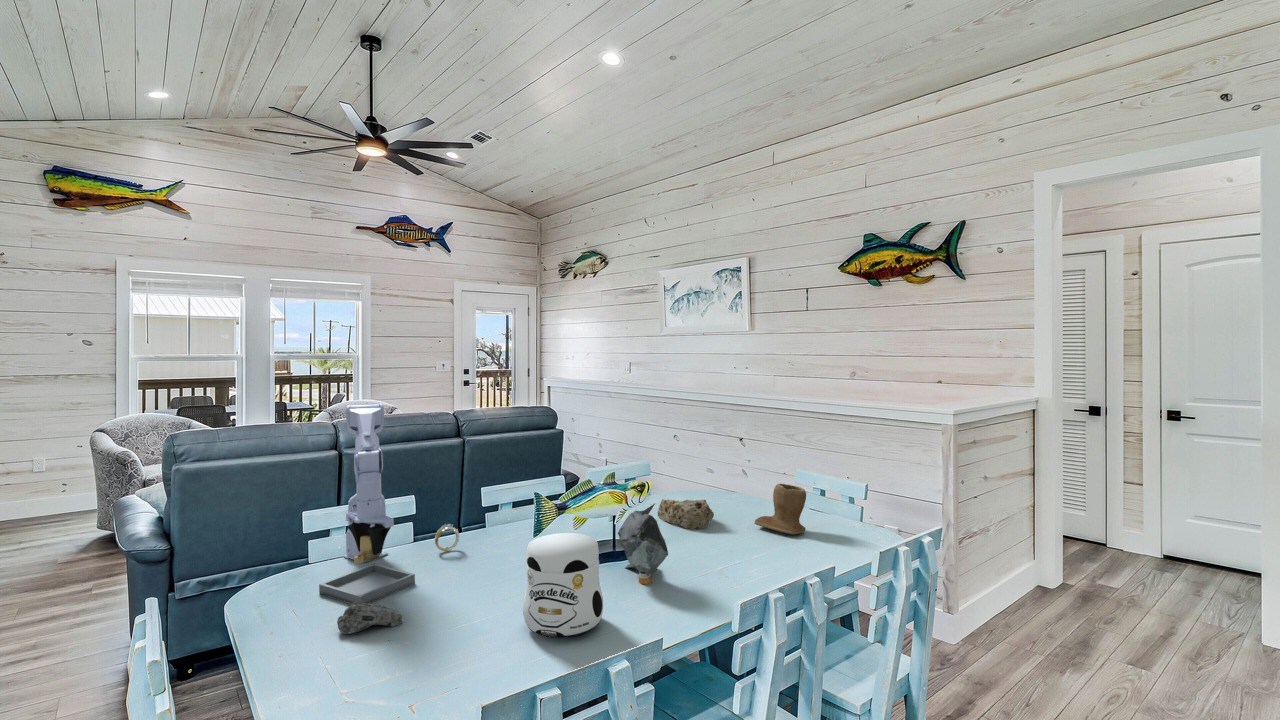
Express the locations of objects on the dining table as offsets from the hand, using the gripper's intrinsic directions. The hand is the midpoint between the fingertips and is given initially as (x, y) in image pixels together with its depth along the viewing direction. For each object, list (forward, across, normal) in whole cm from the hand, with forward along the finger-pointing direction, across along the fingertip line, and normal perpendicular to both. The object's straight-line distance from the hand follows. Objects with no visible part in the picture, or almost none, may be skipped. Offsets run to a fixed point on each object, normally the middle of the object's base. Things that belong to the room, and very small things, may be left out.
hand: (370, 552), depth 152 cm
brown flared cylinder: (+9, +85, +89) cm, 123 cm away
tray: (+9, 0, -1) cm, 9 cm away
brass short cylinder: (+2, 0, 0) cm, 2 cm away
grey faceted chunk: (+9, +60, +34) cm, 70 cm away
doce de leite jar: (+9, +56, +3) cm, 56 cm away
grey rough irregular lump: (+9, +17, -15) cm, 25 cm away
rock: (+9, +53, +85) cm, 101 cm away
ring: (+9, -1, +28) cm, 30 cm away
